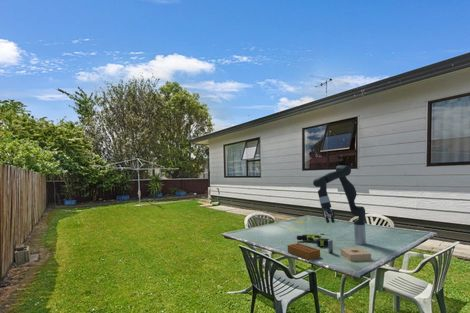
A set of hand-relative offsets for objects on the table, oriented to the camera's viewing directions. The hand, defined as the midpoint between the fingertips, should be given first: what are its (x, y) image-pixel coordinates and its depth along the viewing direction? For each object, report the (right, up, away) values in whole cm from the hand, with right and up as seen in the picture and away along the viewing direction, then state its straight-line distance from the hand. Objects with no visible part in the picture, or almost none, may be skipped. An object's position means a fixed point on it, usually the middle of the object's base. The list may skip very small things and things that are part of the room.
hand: (330, 222), depth 215 cm
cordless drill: (-5, -28, +37) cm, 47 cm away
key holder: (+17, -25, -5) cm, 31 cm away
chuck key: (+3, -26, +7) cm, 27 cm away
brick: (-20, -28, +6) cm, 35 cm away
